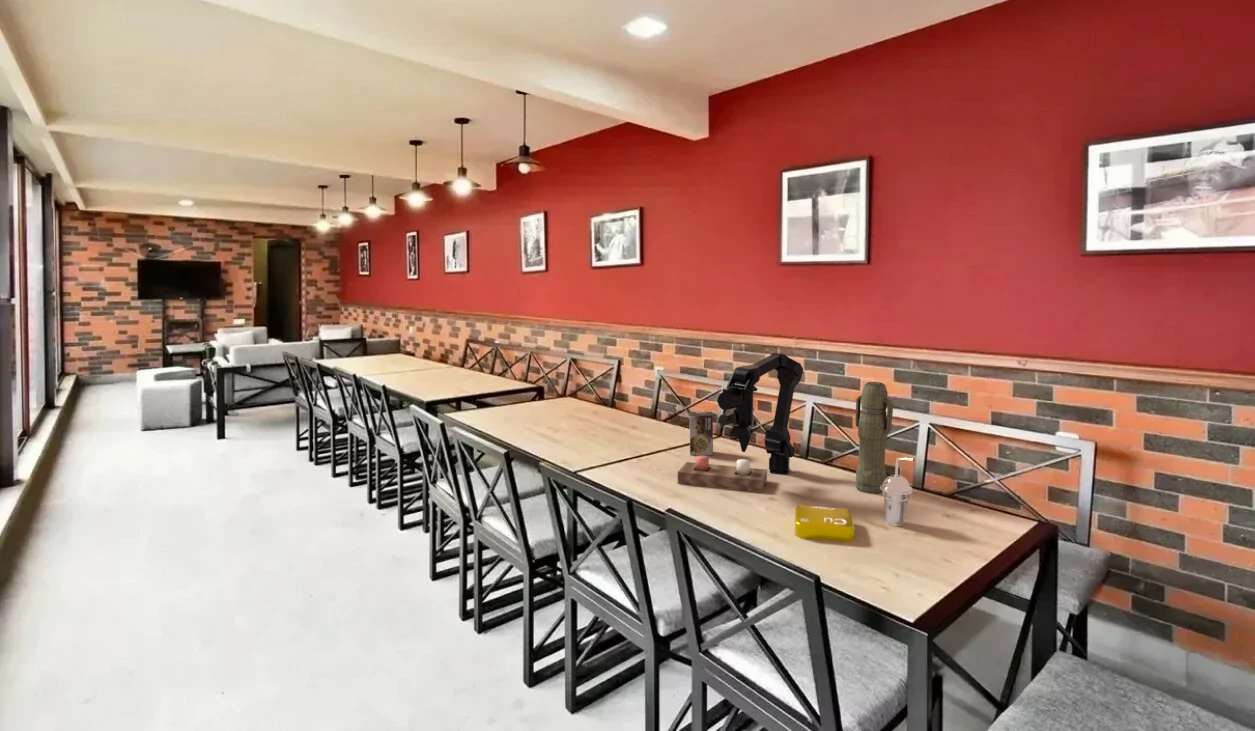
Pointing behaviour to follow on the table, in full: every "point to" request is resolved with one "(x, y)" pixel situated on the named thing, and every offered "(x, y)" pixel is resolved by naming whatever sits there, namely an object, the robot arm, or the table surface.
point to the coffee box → (701, 433)
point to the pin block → (723, 477)
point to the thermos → (872, 436)
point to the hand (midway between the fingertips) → (743, 451)
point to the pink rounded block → (702, 463)
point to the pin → (743, 467)
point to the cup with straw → (896, 496)
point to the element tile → (824, 523)
